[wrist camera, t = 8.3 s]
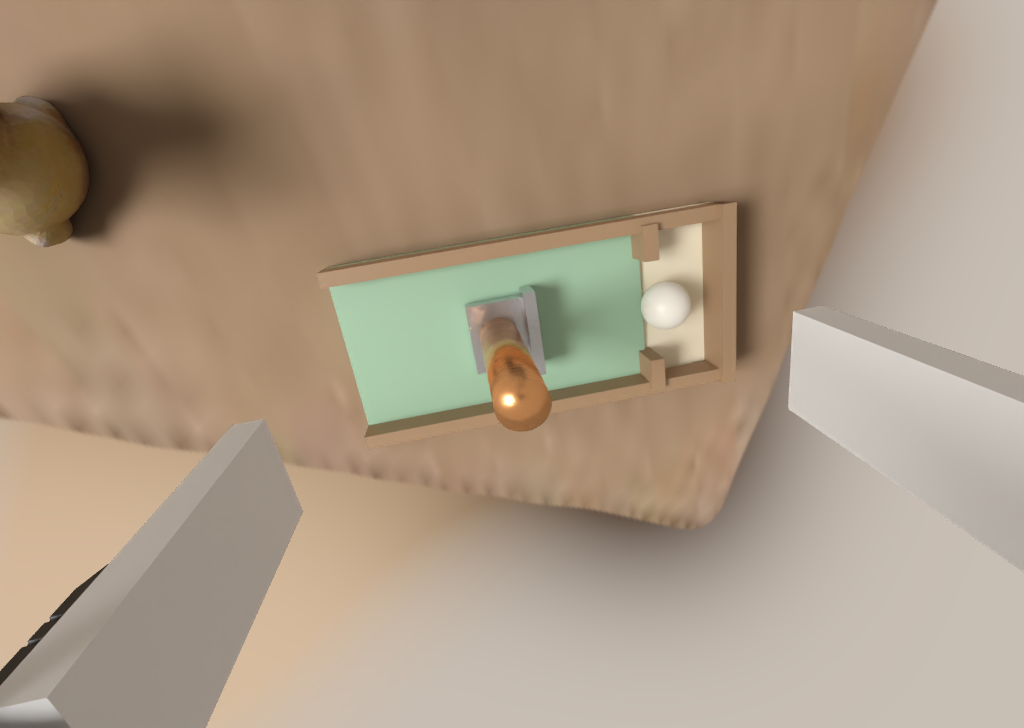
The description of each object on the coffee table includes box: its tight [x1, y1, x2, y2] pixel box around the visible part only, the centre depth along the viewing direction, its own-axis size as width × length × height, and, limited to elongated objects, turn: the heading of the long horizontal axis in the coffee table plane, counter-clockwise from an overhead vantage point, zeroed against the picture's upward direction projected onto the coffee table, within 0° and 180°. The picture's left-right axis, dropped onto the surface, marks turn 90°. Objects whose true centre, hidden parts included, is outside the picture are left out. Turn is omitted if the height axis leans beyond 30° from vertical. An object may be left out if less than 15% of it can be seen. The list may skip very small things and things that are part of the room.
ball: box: [641, 281, 691, 330], centre depth 35 cm, size 4×4×4 cm
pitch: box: [317, 202, 737, 449], centre depth 35 cm, size 13×28×4 cm, turn 99°
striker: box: [465, 285, 552, 432], centre depth 29 cm, size 6×5×13 cm
